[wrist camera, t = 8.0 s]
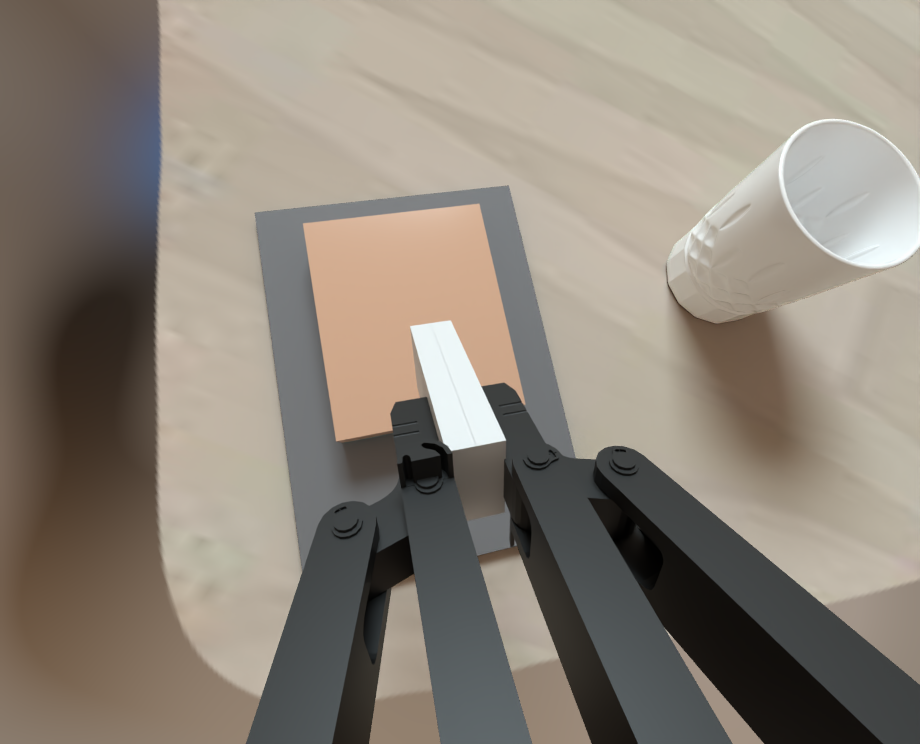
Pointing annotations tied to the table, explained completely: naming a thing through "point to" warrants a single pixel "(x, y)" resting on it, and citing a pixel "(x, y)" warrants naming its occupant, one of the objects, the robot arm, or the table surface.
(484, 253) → the tile
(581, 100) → the table surface
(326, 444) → the mat
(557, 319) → the table surface
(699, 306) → the white cup
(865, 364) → the table surface
